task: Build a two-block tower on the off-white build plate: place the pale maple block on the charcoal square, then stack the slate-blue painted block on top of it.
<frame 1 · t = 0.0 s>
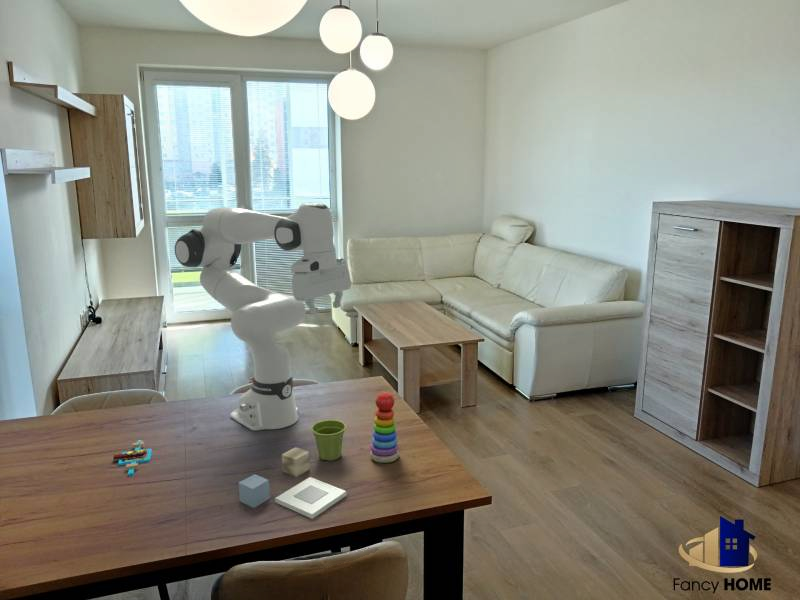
hand: (326, 310, 169), 39 cm above the table, tool pointing down, fingers open, 8 cm apart
maple block: (296, 470, 160), on the table
plant pot: (329, 456, 168), on the table
slate blue block: (254, 500, 146), on the table
gear mechanism: (132, 460, 167), on the table
stacking toy: (384, 458, 167), on the table
build plate: (311, 499, 146), on the table
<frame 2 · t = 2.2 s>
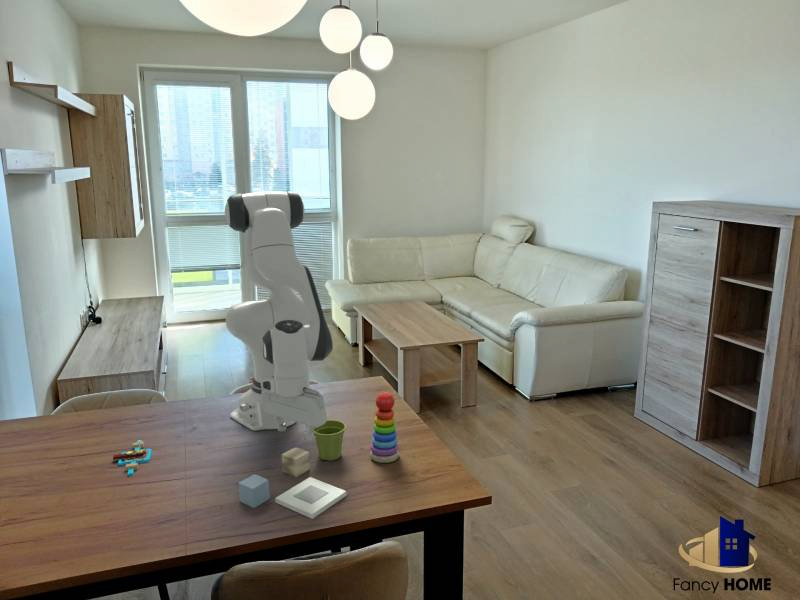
hand: (294, 435, 157), 10 cm above the table, tool pointing down, fingers open, 8 cm apart
nothing on the table moved.
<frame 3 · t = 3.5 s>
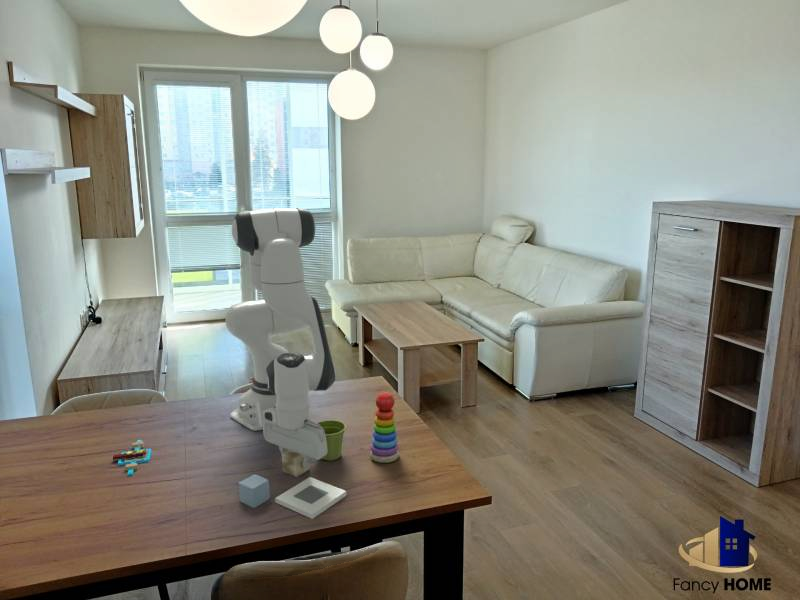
hand: (296, 464, 160), 2 cm above the table, tool pointing down, fingers closed on maple block, 5 cm apart
maple block: (296, 470, 160), on the table, touching gripper
everything else where it was.
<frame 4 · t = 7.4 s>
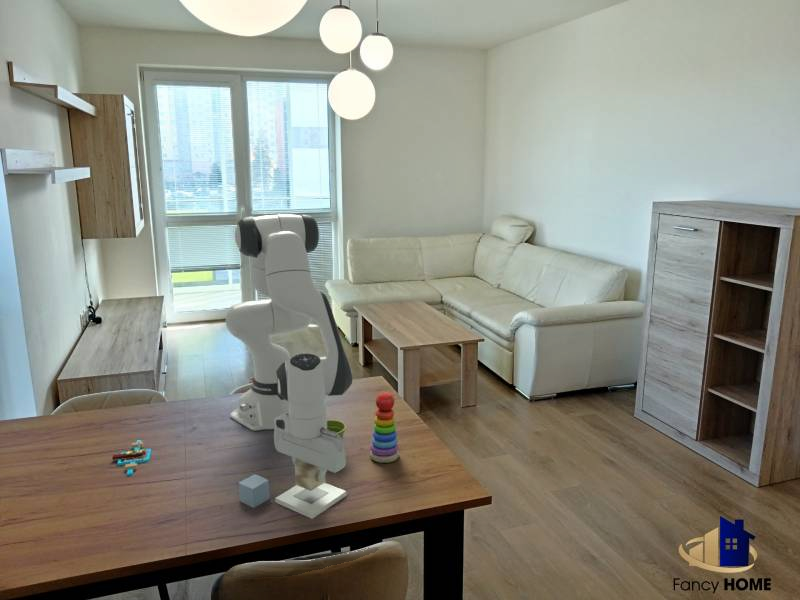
hand: (310, 477, 145), 6 cm above the table, tool pointing down, fingers closed on maple block, 5 cm apart
maple block: (310, 483, 145), point 4 cm above the table, touching gripper
everything else where it was.
when the fingers open (4 cm above the table, at t = 8.3 s): maple block stays where it is, resting on build plate.
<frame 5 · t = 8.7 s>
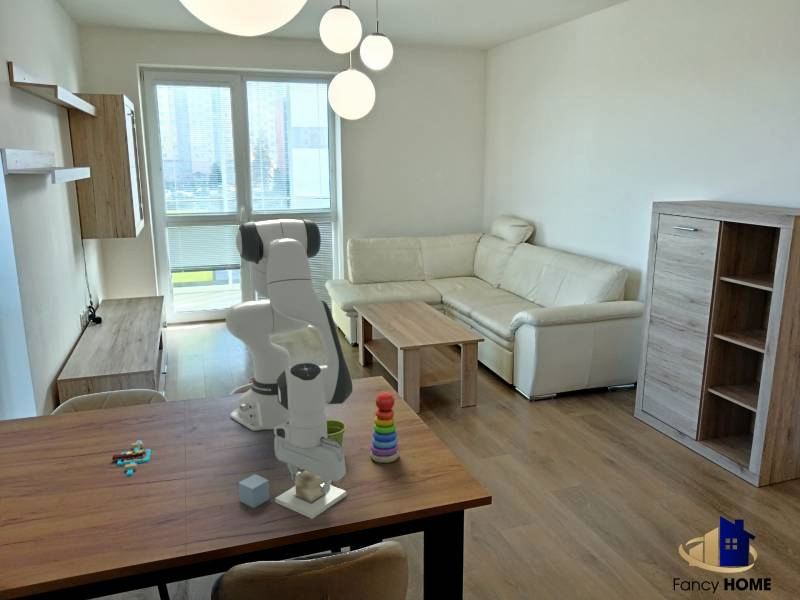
hand: (310, 485, 146), 4 cm above the table, tool pointing down, fingers open, 8 cm apart
maple block: (310, 494, 146), point 1 cm above the table, touching build plate
everything else where it was.
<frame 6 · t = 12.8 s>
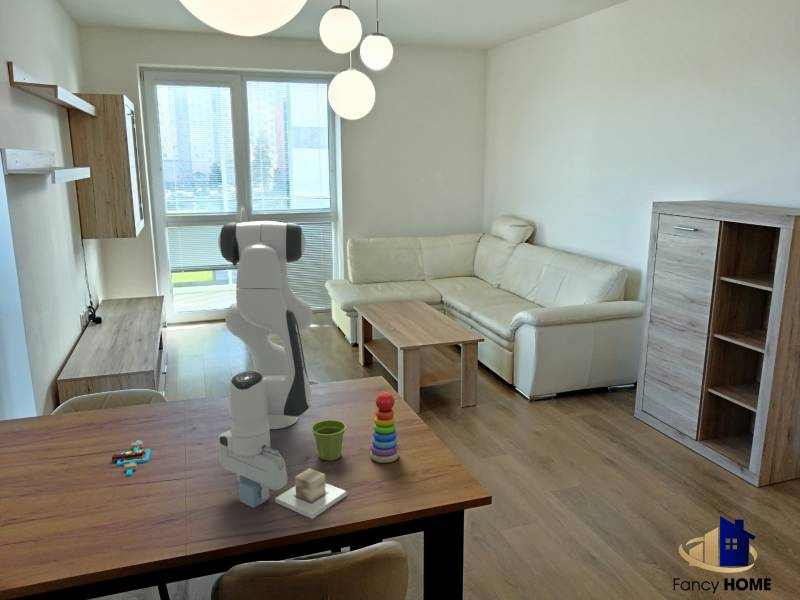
hand: (254, 493, 146), 2 cm above the table, tool pointing down, fingers closed on slate blue block, 5 cm apart
slate blue block: (254, 499, 146), on the table, touching gripper
everything else where it was.
when the fingers open (9 cm above the table, at t = 17.5 s): slate blue block stays where it is, resting on maple block.
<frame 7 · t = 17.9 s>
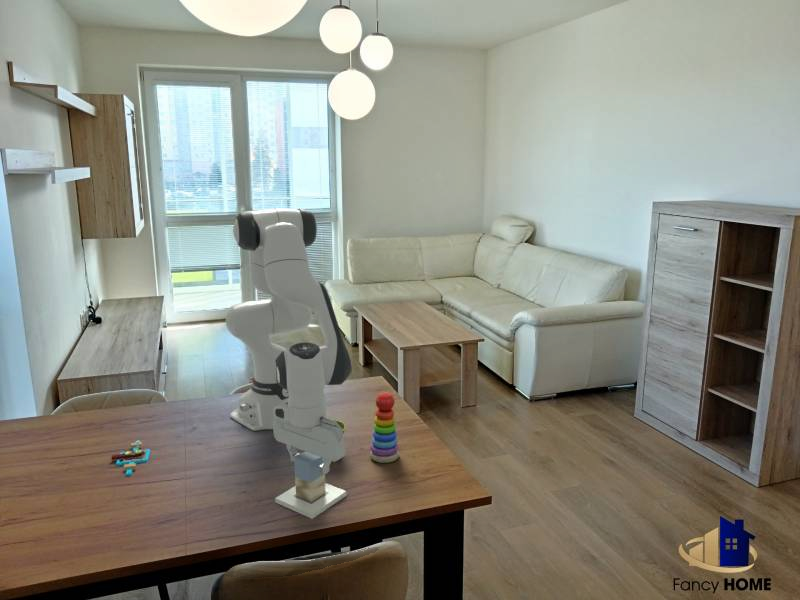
hand: (309, 466, 145), 9 cm above the table, tool pointing down, fingers open, 8 cm apart
maple block: (310, 494, 146), point 1 cm above the table, touching build plate, slate blue block
slate blue block: (309, 475, 145), point 6 cm above the table, touching maple block
everything else where it was.
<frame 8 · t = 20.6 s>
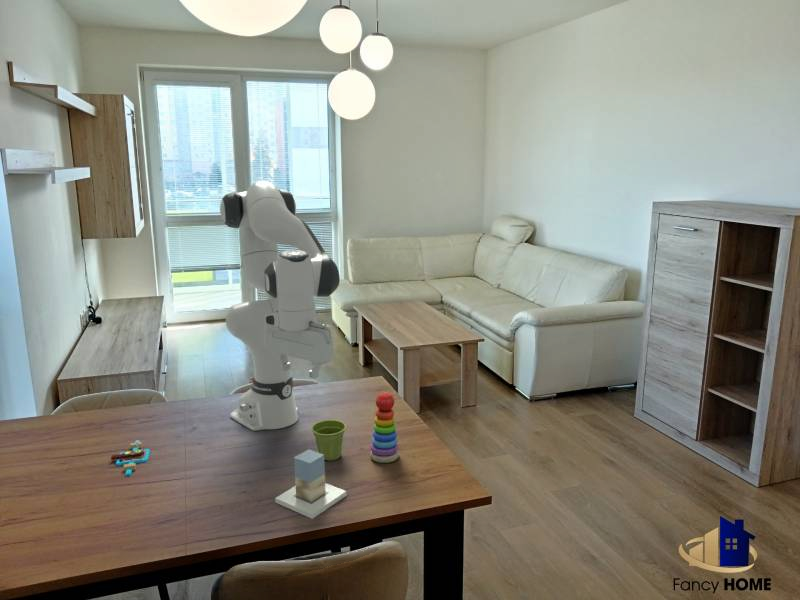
hand: (299, 373, 148), 29 cm above the table, tool pointing down, fingers open, 8 cm apart
nothing on the table moved.
at the end: maple block inside the target area on the build plate (0.1 cm from its centre), point 1.3 cm above the build plate's base; slate blue block 0.0 cm off-centre on the maple block, point 5.0 cm above the maple block's base; slate blue block tilted 0° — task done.
